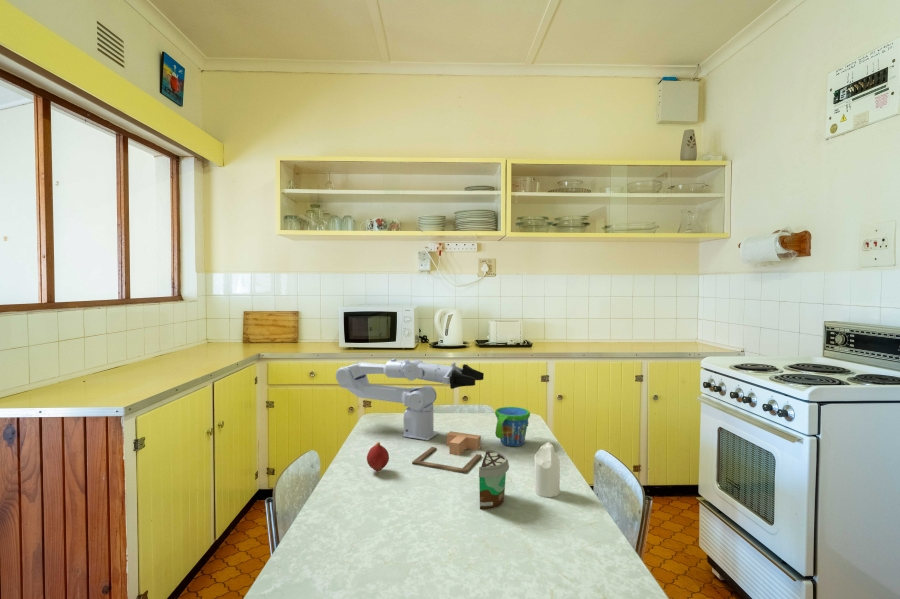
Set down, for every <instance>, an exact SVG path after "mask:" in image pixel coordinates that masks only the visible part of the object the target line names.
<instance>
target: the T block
mask: <svg viewBox="0 0 900 599" xmlns="http://www.w3.org/2000/svg"><path fill="white" fill-rule="evenodd" d="M481 439H482V436H481V434H480V435H478V434H471V433H467V432H466V433H465V432H458V431H457V432H456V431H449V432H448V433H446V446H448V447H449V448H448V449H449V452H448V453H449V454H448V455H454V456H460V455H461V454H462V453H463V452H465V450H474V451H478V450H479V449H480V448H481V447H482V446H481V445H482V442H481V441H482V440H481Z"/></svg>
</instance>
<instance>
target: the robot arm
mask: <svg viewBox="0 0 900 599" xmlns="http://www.w3.org/2000/svg"><path fill="white" fill-rule="evenodd" d="M368 374H369V375H372V374H374V375H375V374H377V375H382V374H383V375H385V376H386V377H387V378H389V379H390V378H392V379H408V380H409V381H411V382H412V381H414V380H423V381H426V382H434V383H440V384H442V385H443V384H445V385H450V386H449V388H450V390H454V389H457V388H460V387H473V386H476V381H483V380H484V374H485V373H484V372H482V371H479V370H477V369H475V368H472V367H471V366H469V365H468V364H465V363H464V364H462V367H458V366H456V362H452V363H451V364H450V365H446V364H439V363H432V362H423V361H422V360H420V359H417V358H416V359H413V360H411V361H410V360H409V359H404V360H397V358H391V359H390V360H388V361H386V363H375V362H364V361H363V362H355V363H353V364H351V365H346V366H341V367H339V368H338V369H337V370H336V372H335V380H336V381H337V383H338V385H339V387H340V388H343V389H346V390H348V392H350V393H351V394H353V395H355V397H357V398H360V399H361V398H362V399H366V400H367V399H369V400H376V401H384V402H391V403H398V404H399V403H400V404H403V405H404V407H407V408H406V409H405V410H404V412H403V434H402V437H403V438H411V439H418V440H421V441H429V440H431V439H432V438H434V436H437V434H439V430H438V431H437V430H434V427H435V426H434V420H435V419H434V403H435V401H436V400H437V391H436V389H435V388H434V387H433V386H431V385H424V386H421V387H420V386H418V387H417V386H415V387H402V386H393V385H387V384H386V385H384V384H376V383H370V382H369V379H368Z"/></svg>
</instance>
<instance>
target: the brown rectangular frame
mask: <svg viewBox="0 0 900 599" xmlns="http://www.w3.org/2000/svg"><path fill="white" fill-rule="evenodd" d="M435 451H437V447H435V446H434V447H433V446H431V447H430V448H428V449H427V450H426V451H424V452H423V453H422V454H421V455H419V456H418V457H417V458H415V459H414V460H413V461H412V463H411V464H412V465H417V466H421V467H427V468H433V469H439V470H445V471H450V472H454V473H461V474H465V475H466V474H467V472H469V471H470V469H471V468H473V466H474V465H475V464H476V463H477V462H478V461H479V460H480V459H481V458H482V457H483V456H482V454H481V453H480V454H479V453H476V454H475V455H474V456H473V457H472V458H471V459H470V460H469V461H468V462H467V463H466V464H465V465H464V466H463V467H458V466H453V465H446V464H445V465H444V464H439V463H434V462H428V461H424V460H425V459H426V458H428V456H430V455H431V454H432V453H434V452H435Z"/></svg>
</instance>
